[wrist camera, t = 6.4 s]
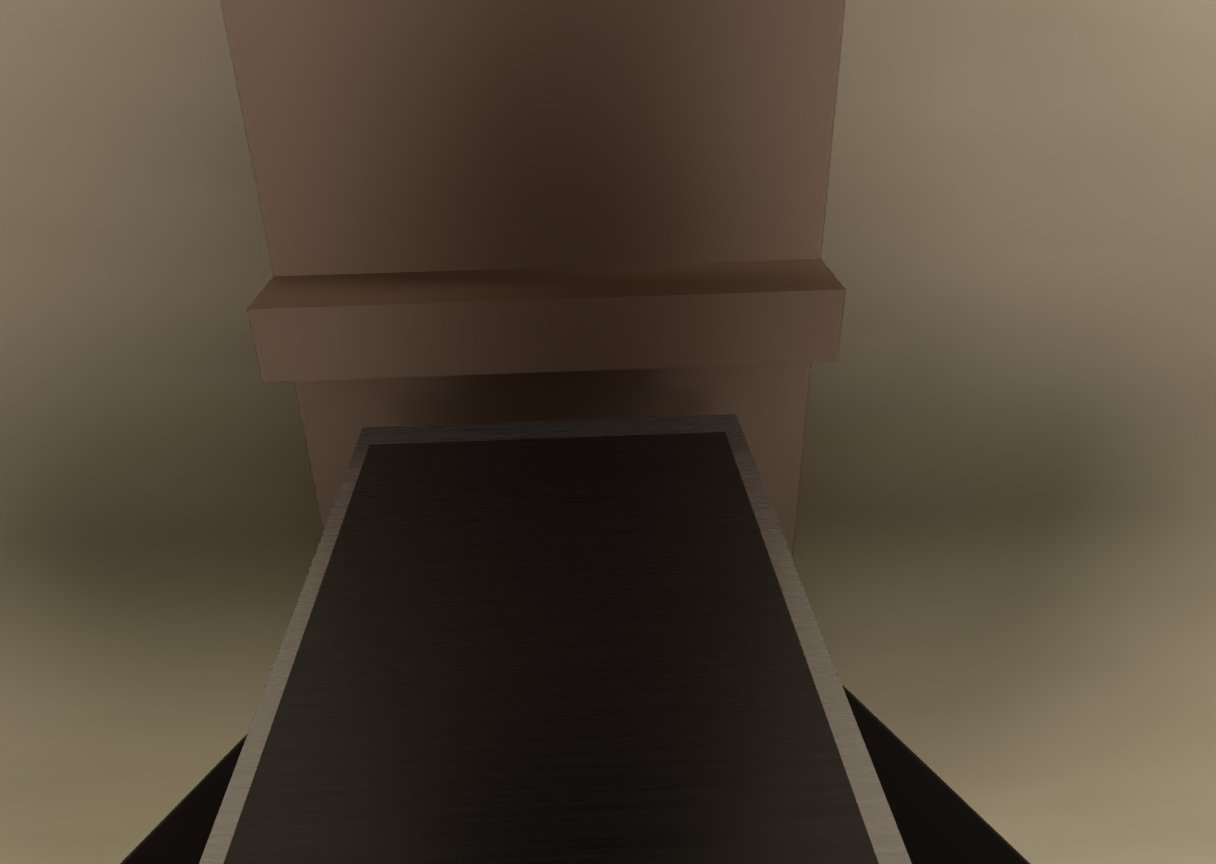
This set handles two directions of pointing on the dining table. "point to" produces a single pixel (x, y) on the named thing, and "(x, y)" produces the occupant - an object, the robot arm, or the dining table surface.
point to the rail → (543, 213)
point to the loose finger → (554, 665)
